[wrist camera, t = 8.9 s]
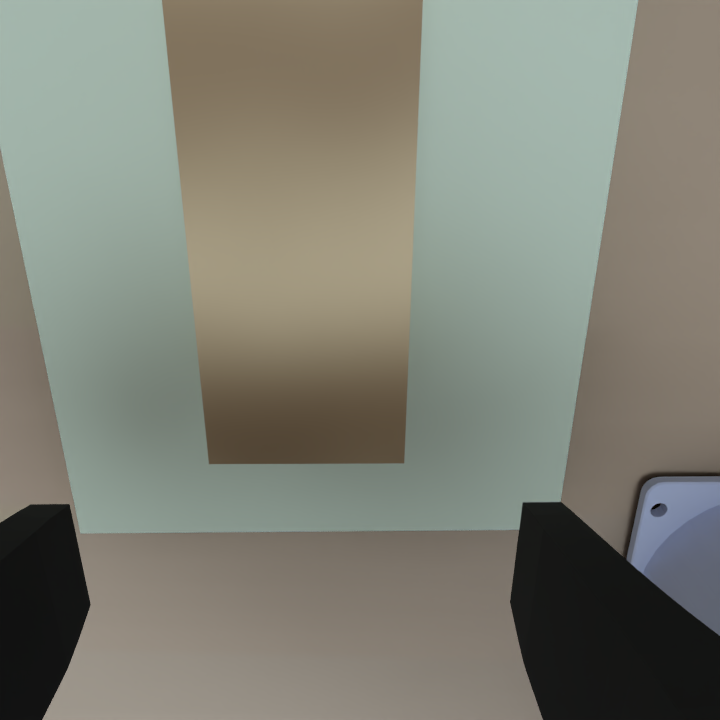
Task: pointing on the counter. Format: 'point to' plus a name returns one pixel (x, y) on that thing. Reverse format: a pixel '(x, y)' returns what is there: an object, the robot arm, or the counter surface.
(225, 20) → the oak bar
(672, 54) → the counter surface
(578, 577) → the robot arm
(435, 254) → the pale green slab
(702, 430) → the counter surface
